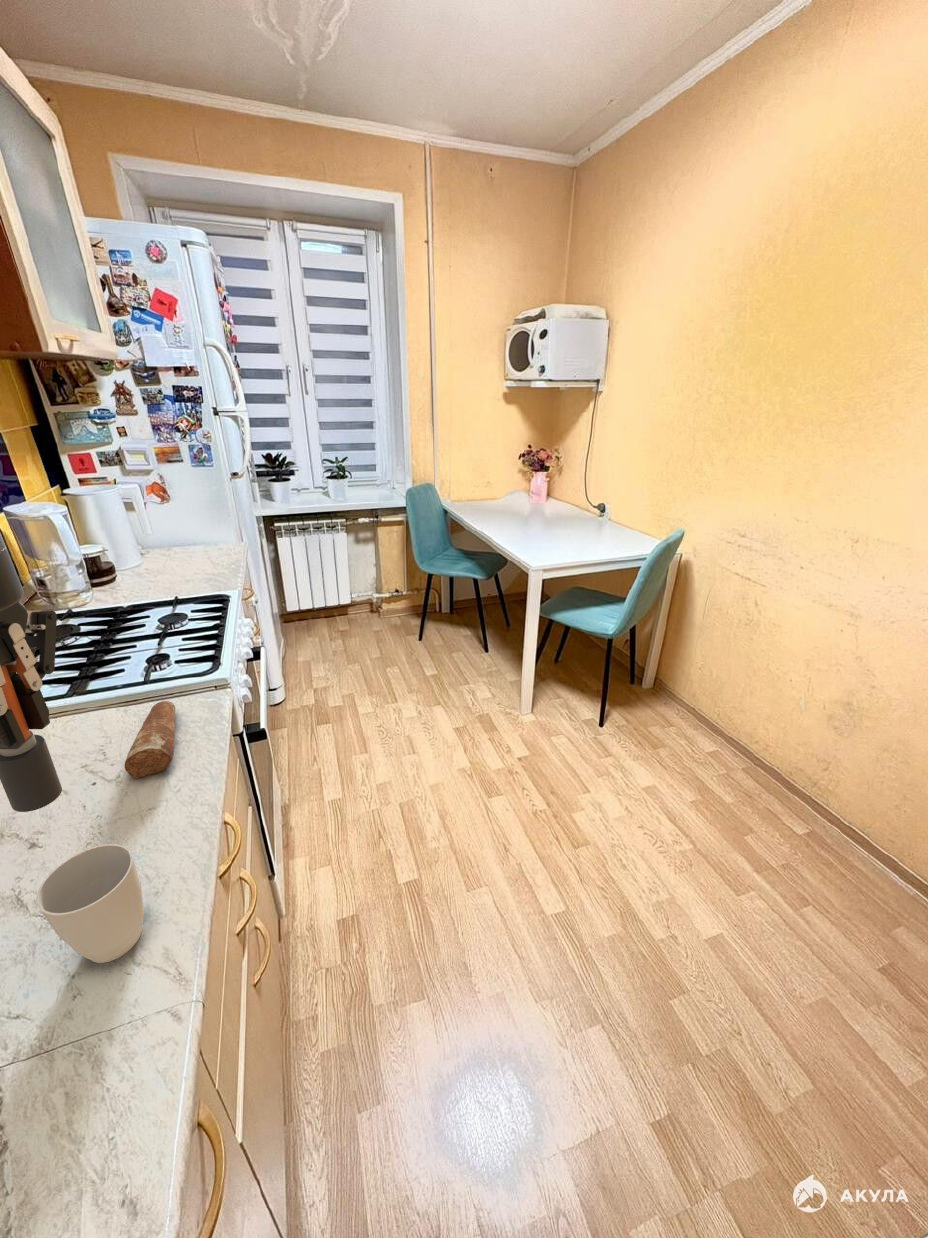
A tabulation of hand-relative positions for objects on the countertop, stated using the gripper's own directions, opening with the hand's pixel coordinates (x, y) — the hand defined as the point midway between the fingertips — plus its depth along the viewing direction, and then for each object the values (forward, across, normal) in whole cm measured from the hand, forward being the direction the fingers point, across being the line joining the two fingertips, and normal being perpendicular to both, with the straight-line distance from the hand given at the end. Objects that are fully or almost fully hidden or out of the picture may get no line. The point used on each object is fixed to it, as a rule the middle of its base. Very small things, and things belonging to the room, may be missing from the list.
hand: (24, 736), depth 45 cm
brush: (+7, 0, -2) cm, 7 cm away
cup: (+27, +1, +1) cm, 27 cm away
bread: (+27, -32, -13) cm, 44 cm away
